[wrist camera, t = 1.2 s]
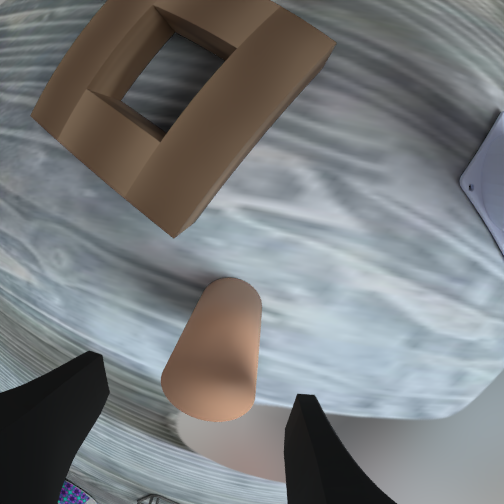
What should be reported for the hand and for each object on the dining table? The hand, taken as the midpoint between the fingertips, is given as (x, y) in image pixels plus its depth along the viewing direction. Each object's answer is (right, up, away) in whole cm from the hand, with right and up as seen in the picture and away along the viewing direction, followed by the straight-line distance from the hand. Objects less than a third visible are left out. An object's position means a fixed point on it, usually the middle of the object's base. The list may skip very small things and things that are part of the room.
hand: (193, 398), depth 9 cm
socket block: (-2, +15, +6) cm, 16 cm away
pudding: (-34, -43, +26) cm, 61 cm away
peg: (+1, +2, +9) cm, 10 cm away
